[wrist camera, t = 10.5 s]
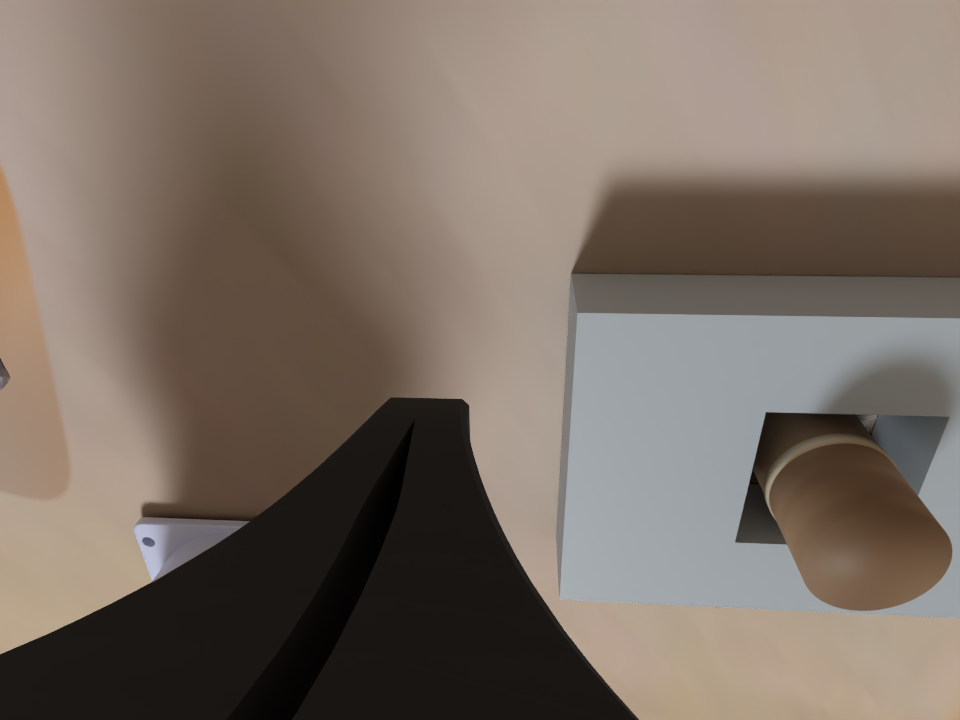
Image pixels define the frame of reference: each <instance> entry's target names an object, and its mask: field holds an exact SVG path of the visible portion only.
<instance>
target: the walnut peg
mask: <svg viewBox="0 0 960 720" xmlns="http://www.w3.org/2000/svg"><path fill="white" fill-rule="evenodd" d="M753 471H754V473H755V475H756V477H757V480H758V482H759V484H760V486H761V488H762V491H763V493H764V498H765V501H766V503H767V506H768V508H769V510H770V512H771V514H772V516H773V517H774V519H775V520H776V521H777V523H778V526H779V528H780V530H781V532H782V534H783V537H784V539H785V541H786V543H787V545H788V548H789V550H790V552H791V554H792V556H793V559H794V561H795V563H796V565H797V567H798V570H799V572H800V574H801V576H802V578H803V581H804V583H805V585H806V587H807V588H808V589H809V591H810V592H811V593H812V594H813V595H814V596H815V597H817V598H818V599H819V600H821V601H823V602H825V603H827V604H829V605H831V606H834V607H837V608H841V609H846V610H854V611H872V610H881V609H886V608H891V607H895V606H898V605H901V604H904V603H907V602H909V601H911V600H913V599H916V598H917V597H919V596H921V595H923V594H924V593H926V592H927V591H928V590H930V589H931V588H932V587H933V586H935V585H936V584H937V583H938V582H939V581H940V580H941V578H942V577H943V576H944V575H945V573H946V572H947V570H948V568H949V566H950V563H951V560H952V552H953V551H952V544H951V541H950V538H949V536H948V535H947V533H946V532H945V530H944V529H943V528H942V526H941V525H940V524H939V523H938V521H937V520H936V519H935V517H934V516H933V515H932V514H931V512H930V511H929V510H928V508H927V507H926V506H925V504H924V503H923V502H922V501H921V499H920V498H919V497H918V495H917V494H916V493H915V492H914V490H913V489H912V488H911V486H910V485H909V484H908V482H907V481H906V480H905V479H904V477H903V476H902V475H901V473H900V472H899V471H898V468H897V466H896V464H895V463H894V461H893V460H892V459H891V457H890V456H889V455H888V454H887V452H886V451H885V450H884V449H883V448H882V447H881V446H879V445H878V444H877V442H876V441H875V440H874V438H873V437H872V436H871V435H870V433H869V432H868V431H867V429H866V428H865V427H864V426H863V424H862V423H861V422H860V420H859V419H858V418H857V416H856V415H855V414H819V413H779V412H766V414H765V418H764V422H763V427H762V431H761V435H760V439H759V443H758V448H757V452H756V456H755V460H754V464H753Z"/></svg>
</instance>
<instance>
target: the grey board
mask: <svg viewBox="0 0 960 720" xmlns="http://www.w3.org/2000/svg"><path fill="white" fill-rule="evenodd" d="M766 412H779V413H819V414H860V415H878V417H877V420H876V423H875V426H874V429H873V432H872V435H871V436H872V437H873V438H874V440H875V441H876V442H877V444H878V445H879V446H881V447H882V448H883V449H884V450H885V451H886V452H887V454H888V455H889V456H890V457H891V459H892V460H893V461H894V463H895V464H896V466H897V468H898V471H899V472H900V473H901V475H902V476H903V477H904V479H905V480H906V481H907V482H908V484H909V485H910V486H911V488H912V489H913V490H914V492H915V493H916V494H917V495H918V497H919V498H920V499H921V501H922V502H923V503H924V504H925V506H926V507H927V508H928V510H929V511H930V512H931V514H932V515H933V516H934V517H935V519H936V520H937V521H938V523H939V524H940V525H941V526H942V528H943V529H944V530H945V532H946V533H947V535H948V536H949V538H950V541H951V544H952V551H953V552H952V560H951V563H950V566H949V568H948V570H947V572H946V573H945V575H944V576H943V577H942V578H941V580H940V581H939V582H938V583H937V584H936V585H935V586H933V587H932V588H931V589H930V590H928V591H927V592H926V593H924V594H923V595H921V596H919V597H917V598H916V599H913V600H911V601H909V602H907V603H904V604H901V605H898V606H895V607H891V608H886V609H881V610H872V611H854V610H846V609H841V608H837V607H834V606H831V605H829V604H827V603H825V602H823V601H821V600H819V599H818V598H817V597H815V596H814V595H813V594H812V593H811V592H810V591H809V589H808V588H807V587H806V585H805V583H804V581H803V578H802V576H801V574H800V572H799V570H798V567H797V565H796V563H795V561H794V559H793V556H792V554H791V552H790V550H789V548H788V545H787V543H786V541H785V539H784V537H783V534H782V532H781V530H780V528H779V526H778V523H777V521H776V520H775V519H774V517H773V516H772V514H771V512H770V510H769V508H768V506H767V503H766V501H765V498H764V493H763V491H762V488H761V486H760V484H749V481H750V477H751V473H752V469H753V464H754V460H755V456H756V452H757V448H758V443H759V439H760V435H761V431H762V427H763V422H764V418H765V414H766ZM556 543H557V563H558V583H559V600H574V601H596V602H618V603H640V604H661V605H683V606H705V607H727V608H748V609H770V610H792V611H814V612H835V613H857V614H879V615H901V616H922V617H944V618H960V278H955V277H856V276H757V275H658V274H571V285H570V303H569V320H568V338H567V356H566V374H565V392H564V409H563V427H562V445H561V463H560V481H559V498H558V516H557V534H556Z"/></svg>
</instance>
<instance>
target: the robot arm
mask: <svg viewBox="0 0 960 720" xmlns="http://www.w3.org/2000/svg"><path fill="white" fill-rule="evenodd" d="M134 533H135V535H136V538H137V541H138V544H139V546H140V549H141V552H142V554H143V557H144V560H145V563H146V565H147V568H148V571H149V573H150V576H151V579H152V582H151V583H150V584H148V585H146V586H144V587H142V588H140V589H138V590H137V591H135V592H133V593H131V594H129V595H127V596H125V597H123V598H121V599H119V600H117V601H116V602H114V603H112V604H110V605H108V606H106V607H103V608H101V609H99V610H97V611H95V612H93V613H91V614H89V615H87V616H85V617H83V618H81V619H79V620H77V621H75V622H73V623H71V624H69V625H66V626H64V627H62V628H60V629H58V630H56V631H53V632H51V633H49V634H47V635H45V636H42V637H40V638H38V639H35V640H33V641H31V642H28V643H26V644H24V645H21V646H19V647H17V648H14V649H12V650H10V651H7V652H5V653H2V654H0V720H639V719H638V718H637V717H636V716H635V715H634V714H633V713H632V711H631V710H630V709H629V708H628V707H627V706H626V705H625V704H624V703H623V701H622V700H621V699H620V698H619V697H618V696H617V695H616V694H615V693H614V691H613V690H612V689H611V688H610V687H609V686H608V684H607V683H606V682H605V681H604V680H603V678H602V677H601V676H600V675H599V674H598V672H597V671H596V670H595V669H594V668H593V667H592V665H591V664H590V663H589V662H588V660H587V659H586V658H585V656H584V655H583V654H582V653H581V651H580V650H579V649H578V647H577V646H576V645H575V644H574V642H573V641H572V640H571V638H570V637H569V636H568V635H567V633H566V632H565V631H564V629H563V628H562V626H561V625H560V623H559V622H558V621H557V619H556V618H555V616H554V615H553V613H552V612H551V610H550V609H549V607H548V606H547V604H546V603H545V601H544V600H543V599H542V597H541V596H540V594H539V593H538V591H537V590H536V588H535V587H534V585H533V584H532V582H531V581H530V579H529V577H528V576H527V574H526V572H525V571H524V569H523V567H522V565H521V564H520V562H519V560H518V559H517V557H516V555H515V553H514V551H513V549H512V548H511V546H510V544H509V542H508V540H507V538H506V536H505V534H504V532H503V530H502V528H501V526H500V524H499V522H498V520H497V517H496V515H495V513H494V511H493V508H492V506H491V503H490V501H489V499H488V496H487V494H486V491H485V489H484V486H483V483H482V480H481V478H480V474H479V471H478V468H477V465H476V462H475V458H474V455H473V451H472V447H471V443H470V425H469V405H468V404H467V403H466V402H465V401H464V400H463V399H431V398H390V399H389V400H388V401H386V402H385V403H384V404H383V405H382V406H381V407H380V408H379V409H378V410H377V411H376V412H375V413H374V414H373V415H372V416H371V417H370V418H369V419H368V420H367V421H366V422H365V423H364V424H363V425H362V426H361V427H360V428H359V429H358V430H357V431H356V432H355V433H354V434H353V435H352V436H351V437H350V438H349V439H348V440H347V441H346V442H345V443H343V444H342V445H341V446H340V447H339V448H338V449H337V450H336V451H335V452H334V453H333V454H332V455H331V456H330V457H329V458H327V459H326V460H325V461H324V462H323V463H322V464H321V465H320V466H319V467H318V468H317V469H315V470H314V471H313V472H312V473H311V474H310V475H308V476H307V477H306V478H305V479H304V480H302V481H301V482H300V483H299V484H298V485H297V486H295V487H294V488H293V489H292V490H291V491H289V492H288V493H287V494H286V495H285V496H283V497H282V498H281V499H280V500H278V501H277V502H276V503H274V504H273V505H272V506H271V507H269V508H268V509H266V510H265V511H264V512H262V513H261V514H260V515H258V516H257V517H256V518H254V519H253V520H251V521H229V520H203V519H178V518H152V517H145V518H141V519H140V520H139V521H138V522H137V523H136V524H135V526H134Z"/></svg>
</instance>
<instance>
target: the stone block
mask: <svg viewBox="0 0 960 720" xmlns="http://www.w3.org/2000/svg"><path fill="white" fill-rule="evenodd" d="M9 379H10V376H9V374H8V372H7V370H6V369H5V367H4V365H3V363H2V361H1V359H0V390H2V389H3V388H4V387H5V385H6V384H7V383H8V381H9Z"/></svg>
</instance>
